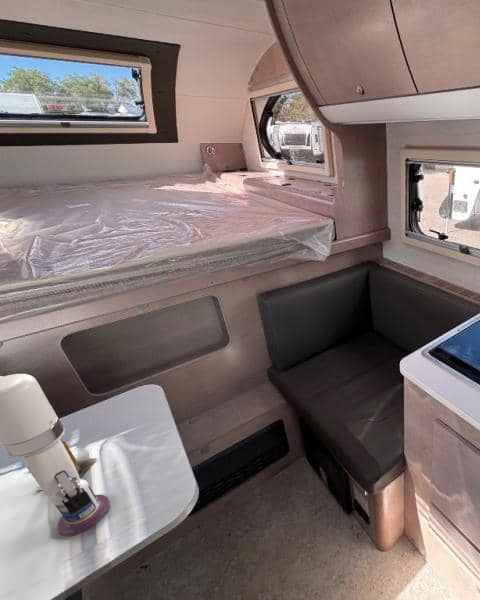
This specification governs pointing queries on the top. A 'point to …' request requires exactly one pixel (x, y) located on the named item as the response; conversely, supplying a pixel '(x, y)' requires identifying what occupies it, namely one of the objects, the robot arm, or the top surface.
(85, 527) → the saucer
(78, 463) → the condiment
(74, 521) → the pill bottle
